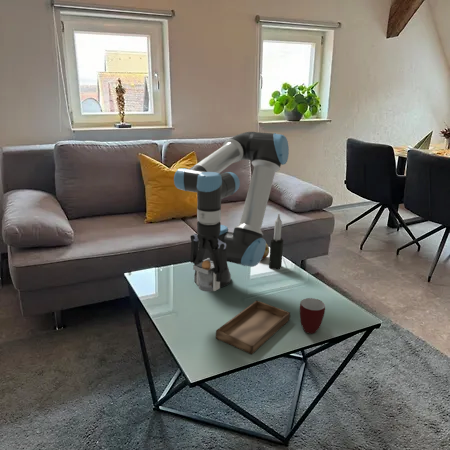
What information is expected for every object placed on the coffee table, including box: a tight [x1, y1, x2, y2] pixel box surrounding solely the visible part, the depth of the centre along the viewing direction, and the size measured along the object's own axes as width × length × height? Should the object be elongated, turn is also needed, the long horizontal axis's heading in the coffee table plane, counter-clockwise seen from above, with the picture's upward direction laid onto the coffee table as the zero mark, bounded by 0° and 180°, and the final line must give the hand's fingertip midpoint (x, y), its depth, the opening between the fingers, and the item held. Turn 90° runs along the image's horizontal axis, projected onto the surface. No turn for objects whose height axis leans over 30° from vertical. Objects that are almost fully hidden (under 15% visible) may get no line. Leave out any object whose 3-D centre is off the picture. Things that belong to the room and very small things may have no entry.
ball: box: [202, 261, 211, 269], centre depth 135 cm, size 3×3×3 cm
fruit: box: [261, 243, 270, 260], centre depth 193 cm, size 8×8×8 cm
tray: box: [215, 300, 291, 356], centre depth 138 cm, size 14×25×3 cm, turn 144°
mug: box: [299, 297, 326, 335], centre depth 138 cm, size 11×8×10 cm
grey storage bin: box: [192, 258, 215, 293], centre depth 138 cm, size 6×8×8 cm
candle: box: [268, 213, 284, 271], centre depth 182 cm, size 5×5×25 cm
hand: (208, 286), depth 140 cm, fingers closed on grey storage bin, 6 cm apart
